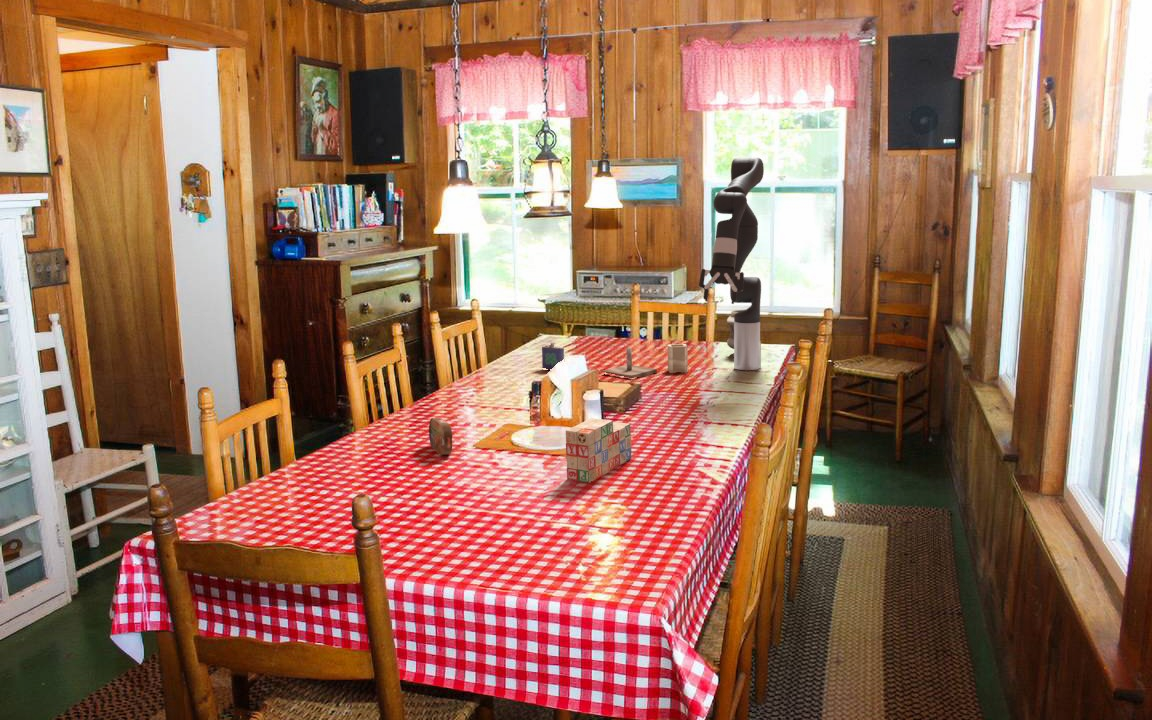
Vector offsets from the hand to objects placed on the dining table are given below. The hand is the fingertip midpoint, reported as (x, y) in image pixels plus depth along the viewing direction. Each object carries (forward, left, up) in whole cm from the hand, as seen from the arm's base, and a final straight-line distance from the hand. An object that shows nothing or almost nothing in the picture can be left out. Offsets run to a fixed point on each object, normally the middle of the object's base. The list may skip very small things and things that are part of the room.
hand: (719, 302), depth 305 cm
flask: (+12, -66, -29) cm, 73 cm away
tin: (+104, -15, -29) cm, 109 cm away
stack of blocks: (+89, +28, -29) cm, 98 cm away
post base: (0, -39, -29) cm, 48 cm away
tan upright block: (-14, -28, -29) cm, 42 cm away
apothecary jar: (-51, -25, -29) cm, 64 cm away
